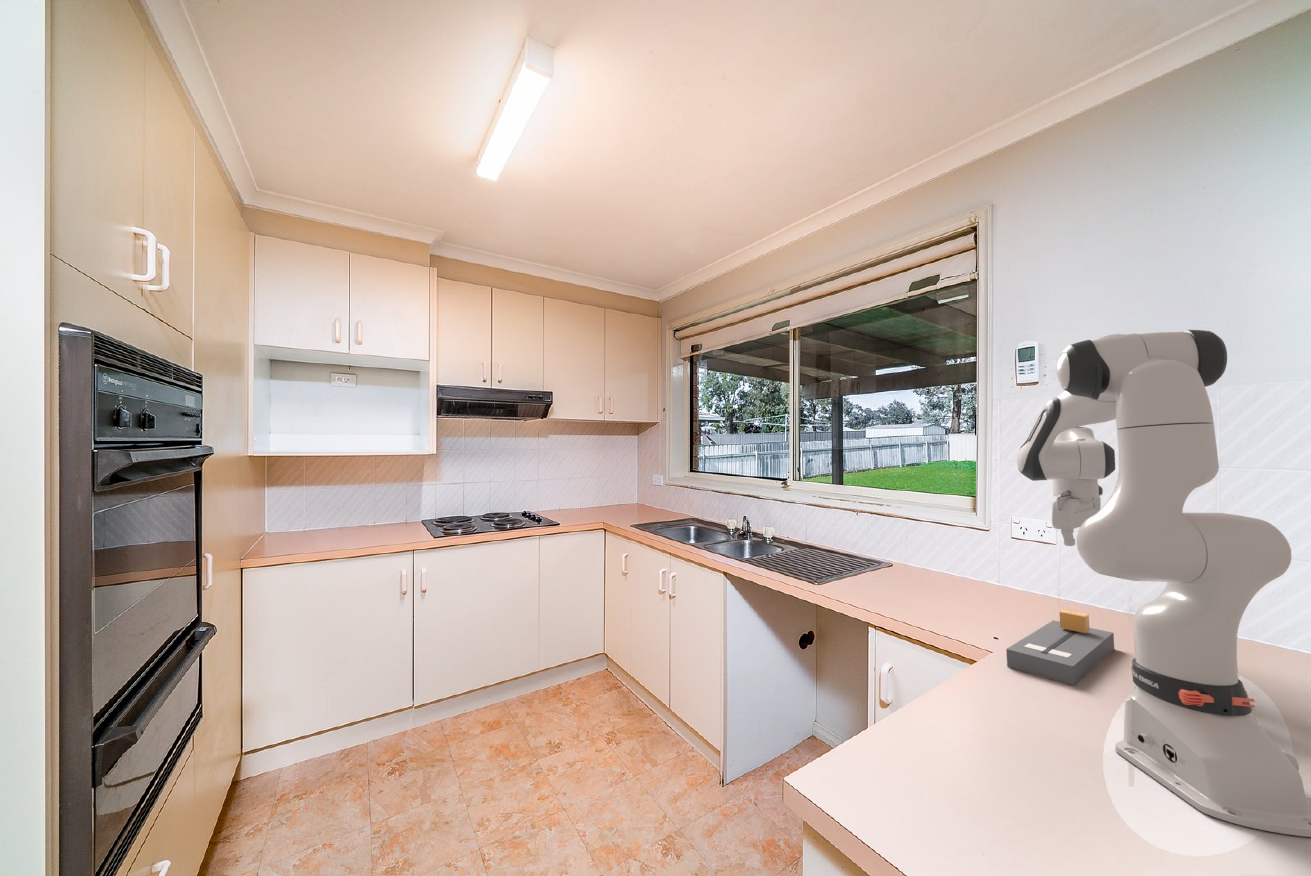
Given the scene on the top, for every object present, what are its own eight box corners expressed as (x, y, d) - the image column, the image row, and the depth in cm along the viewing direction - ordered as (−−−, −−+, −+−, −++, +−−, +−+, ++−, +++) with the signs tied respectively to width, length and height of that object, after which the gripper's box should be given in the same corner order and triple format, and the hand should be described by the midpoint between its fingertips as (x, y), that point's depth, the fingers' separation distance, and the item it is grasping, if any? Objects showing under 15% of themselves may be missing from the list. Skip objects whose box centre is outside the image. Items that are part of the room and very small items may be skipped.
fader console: (1074, 685, 102) (1072, 665, 102) (1007, 666, 112) (1006, 648, 112) (1114, 649, 120) (1113, 632, 120) (1054, 635, 130) (1053, 619, 130)
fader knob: (1085, 633, 119) (1085, 616, 119) (1060, 627, 123) (1059, 611, 123) (1089, 630, 121) (1088, 614, 121) (1064, 625, 125) (1063, 609, 125)
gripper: (1074, 493, 117) (1076, 550, 117) (1105, 487, 128) (1107, 540, 128) (1042, 491, 123) (1045, 546, 123) (1075, 486, 133) (1077, 536, 133)
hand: (1077, 543), depth 125 cm, fingers open, 8 cm apart
